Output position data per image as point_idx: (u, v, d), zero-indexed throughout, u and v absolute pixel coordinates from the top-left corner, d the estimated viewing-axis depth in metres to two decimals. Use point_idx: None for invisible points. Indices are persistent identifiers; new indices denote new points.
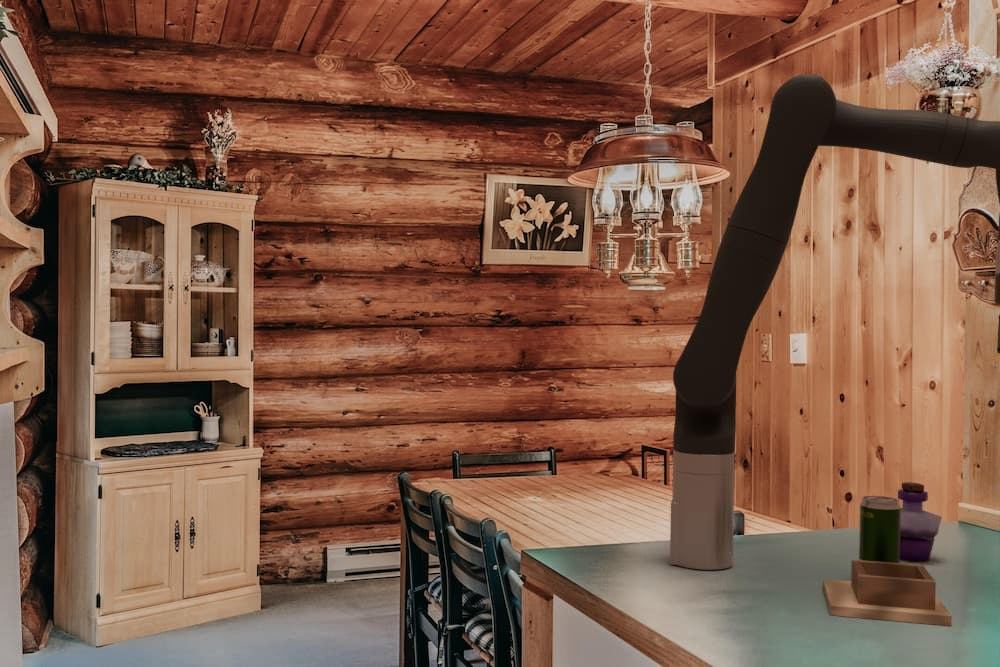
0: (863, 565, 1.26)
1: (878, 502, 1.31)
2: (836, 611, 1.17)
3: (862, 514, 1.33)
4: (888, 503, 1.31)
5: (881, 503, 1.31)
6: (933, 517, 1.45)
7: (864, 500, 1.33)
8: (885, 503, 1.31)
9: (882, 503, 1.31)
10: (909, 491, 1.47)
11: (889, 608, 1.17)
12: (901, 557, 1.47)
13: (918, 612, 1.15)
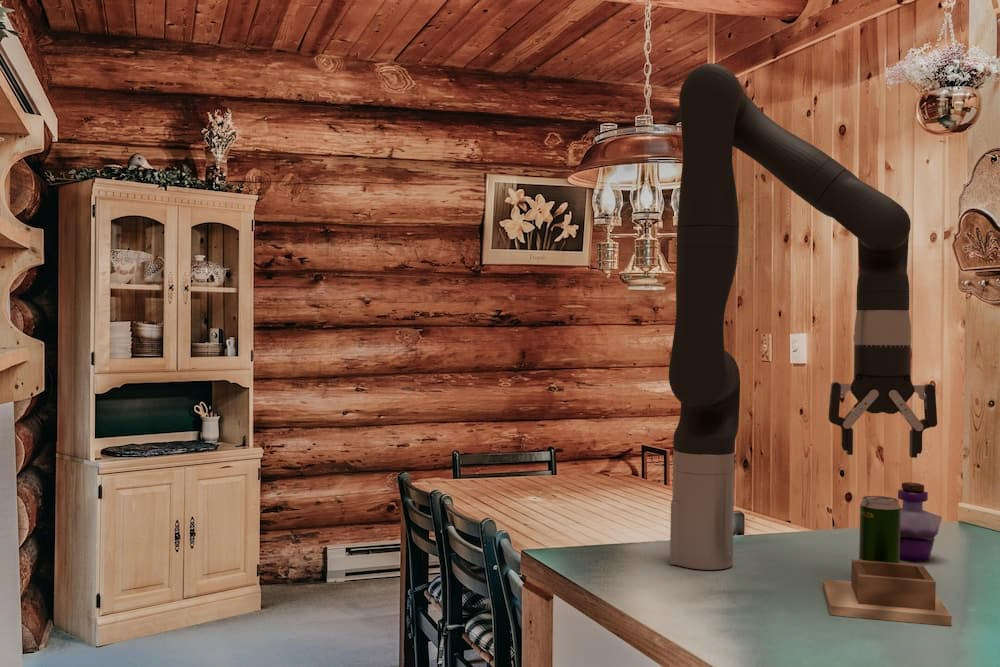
0: (863, 565, 1.26)
1: (878, 502, 1.31)
2: (836, 611, 1.17)
3: (862, 514, 1.33)
4: (888, 503, 1.31)
5: (881, 503, 1.31)
6: (933, 517, 1.45)
7: (864, 500, 1.33)
8: (885, 503, 1.31)
9: (882, 503, 1.31)
10: (909, 491, 1.47)
11: (889, 608, 1.17)
12: (901, 557, 1.47)
13: (918, 612, 1.15)
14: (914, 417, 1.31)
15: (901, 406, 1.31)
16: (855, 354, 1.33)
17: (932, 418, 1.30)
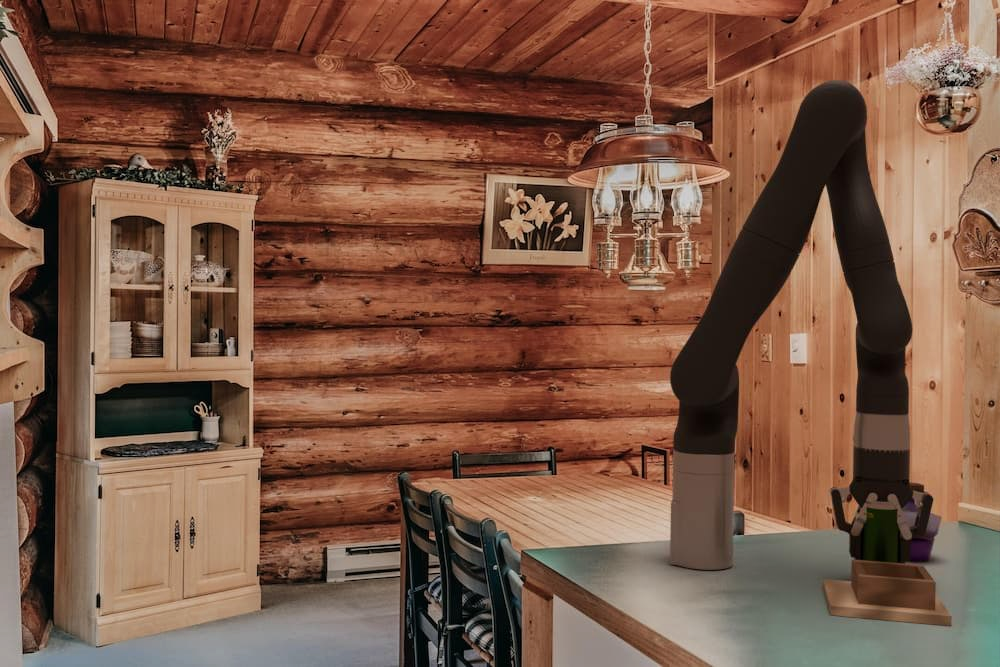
0: (863, 565, 1.26)
1: (878, 502, 1.31)
2: (836, 611, 1.17)
3: None
4: (888, 503, 1.31)
5: (881, 503, 1.31)
6: (933, 517, 1.45)
7: None
8: (885, 503, 1.31)
9: (882, 503, 1.31)
10: None
11: (889, 608, 1.17)
12: None
13: (918, 612, 1.15)
14: (905, 525, 1.31)
15: (900, 510, 1.31)
16: (854, 456, 1.33)
17: (920, 527, 1.31)
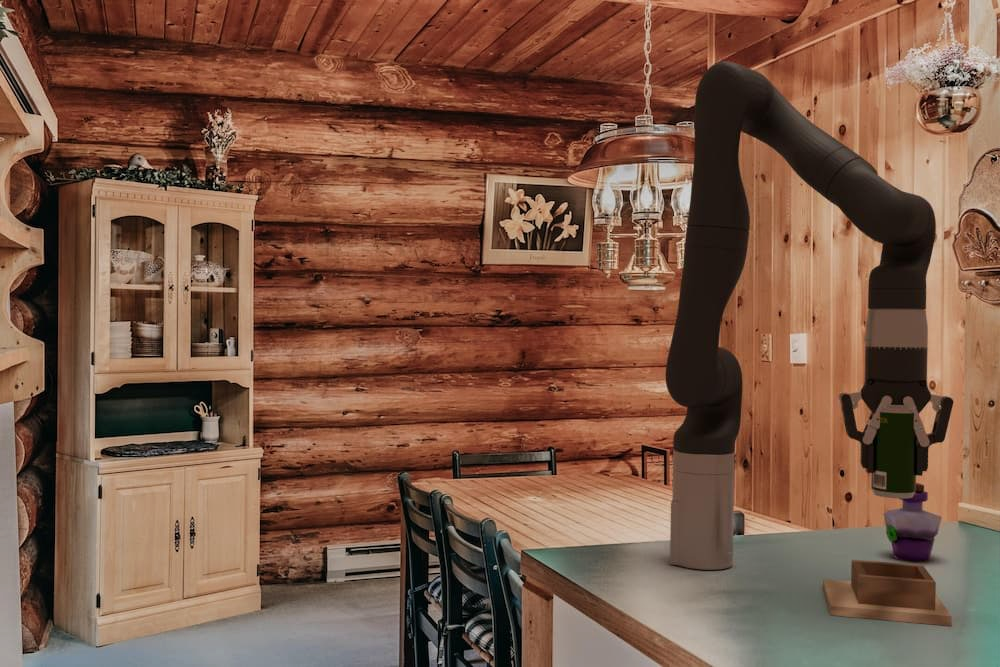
0: (863, 565, 1.26)
1: (893, 406, 1.20)
2: (836, 611, 1.17)
3: None
4: (904, 406, 1.19)
5: (896, 406, 1.19)
6: (933, 517, 1.45)
7: None
8: (900, 406, 1.19)
9: (897, 406, 1.19)
10: None
11: (889, 608, 1.17)
12: (901, 557, 1.47)
13: (918, 612, 1.15)
14: (922, 431, 1.20)
15: (916, 414, 1.20)
16: (866, 357, 1.22)
17: (939, 433, 1.19)
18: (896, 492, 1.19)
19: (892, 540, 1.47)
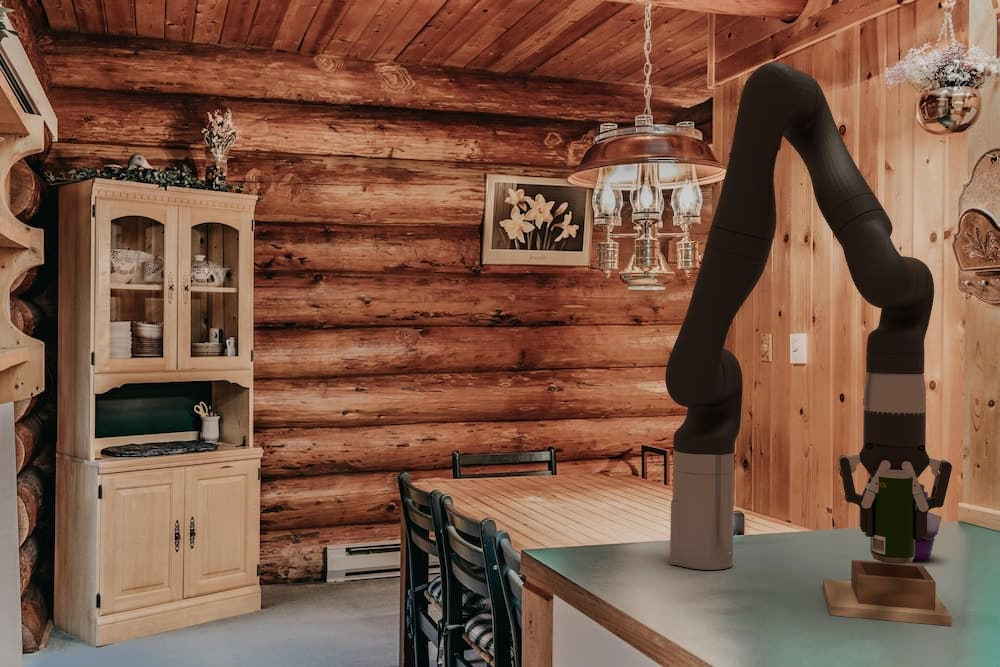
0: (863, 565, 1.26)
1: (891, 470, 1.20)
2: (836, 611, 1.17)
3: None
4: (902, 471, 1.19)
5: (894, 471, 1.19)
6: (933, 517, 1.45)
7: None
8: (899, 471, 1.19)
9: (896, 471, 1.19)
10: None
11: (889, 608, 1.17)
12: None
13: (918, 612, 1.15)
14: (921, 496, 1.20)
15: (915, 479, 1.19)
16: (865, 420, 1.22)
17: (938, 498, 1.19)
18: (895, 557, 1.19)
19: None
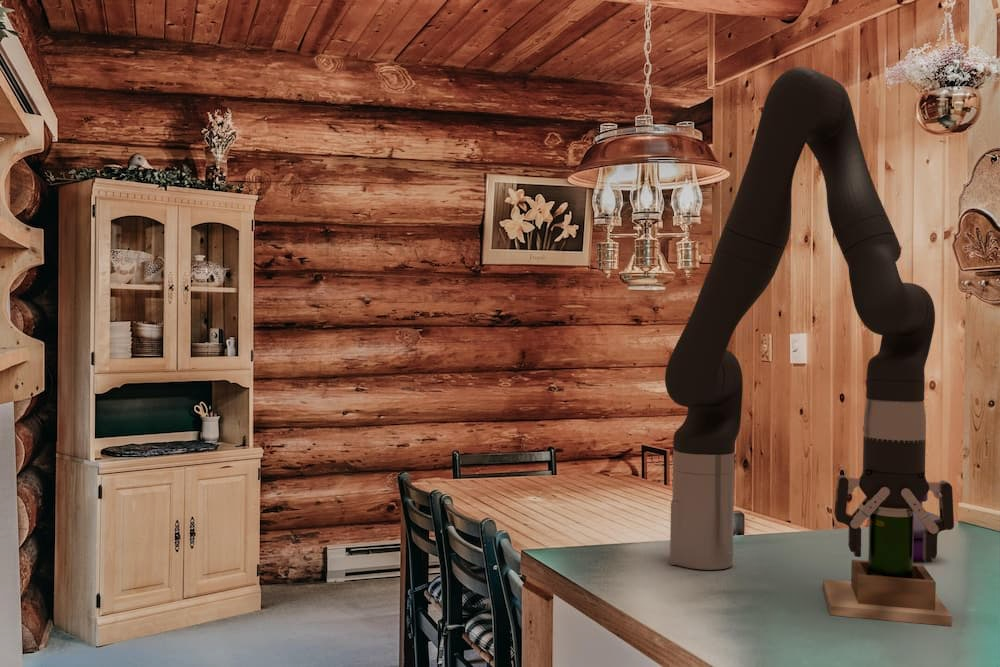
0: (863, 565, 1.26)
1: (889, 509, 1.20)
2: (836, 611, 1.17)
3: (871, 522, 1.22)
4: (900, 510, 1.19)
5: (892, 510, 1.20)
6: (933, 517, 1.45)
7: None
8: (897, 510, 1.19)
9: (893, 510, 1.19)
10: None
11: (889, 608, 1.17)
12: None
13: (918, 612, 1.15)
14: (928, 518, 1.19)
15: (914, 506, 1.19)
16: (864, 447, 1.22)
17: (948, 520, 1.19)
18: None
19: None
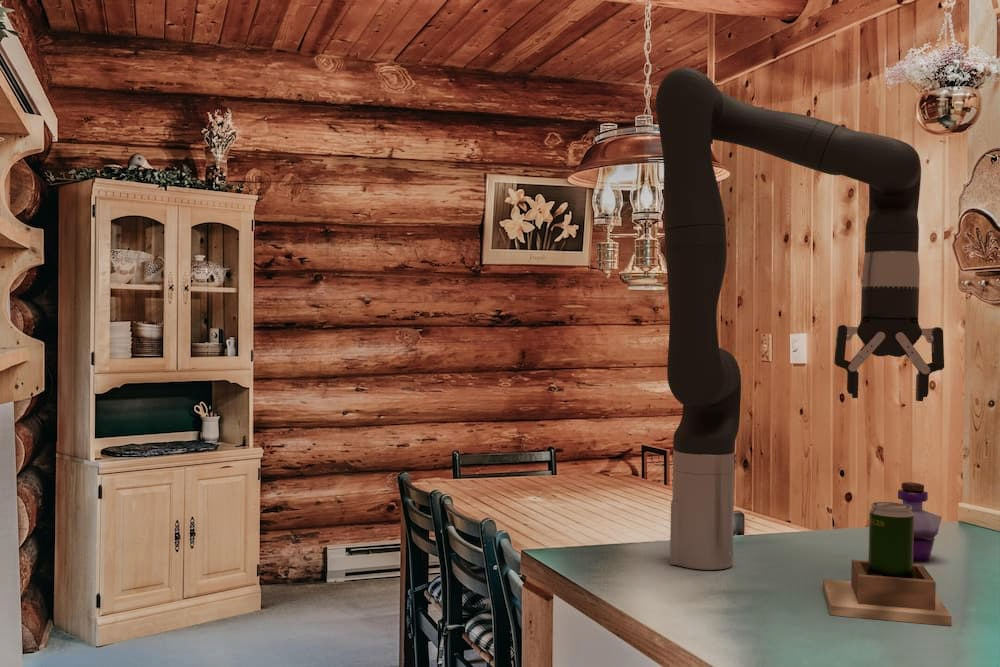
0: (863, 565, 1.26)
1: (889, 509, 1.20)
2: (836, 611, 1.17)
3: (872, 522, 1.22)
4: (900, 510, 1.19)
5: (892, 510, 1.19)
6: (933, 517, 1.45)
7: (874, 507, 1.21)
8: (897, 510, 1.19)
9: (894, 510, 1.19)
10: (909, 491, 1.47)
11: (889, 608, 1.17)
12: None
13: (918, 612, 1.15)
14: (921, 360, 1.29)
15: (908, 349, 1.30)
16: (862, 296, 1.32)
17: (939, 361, 1.29)
18: None
19: None
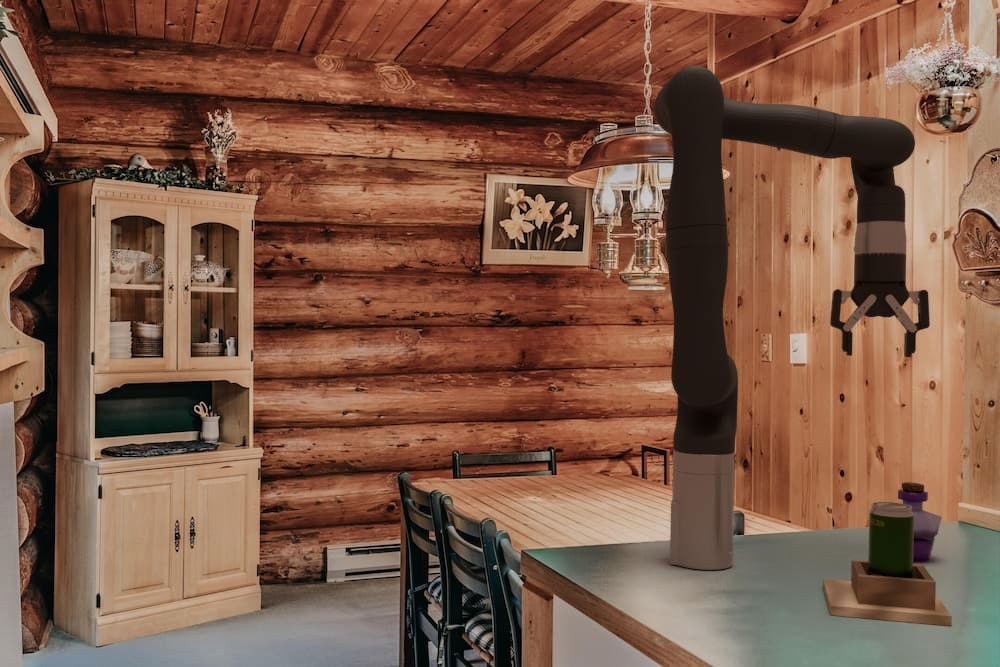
0: (863, 565, 1.26)
1: (889, 509, 1.20)
2: (836, 611, 1.17)
3: (871, 522, 1.22)
4: (900, 510, 1.19)
5: (892, 510, 1.19)
6: (933, 517, 1.45)
7: (874, 507, 1.21)
8: (897, 510, 1.19)
9: (894, 510, 1.19)
10: (909, 491, 1.47)
11: (889, 608, 1.17)
12: None
13: (918, 612, 1.15)
14: (908, 320, 1.43)
15: (897, 309, 1.43)
16: (855, 263, 1.46)
17: (925, 320, 1.42)
18: None
19: None
